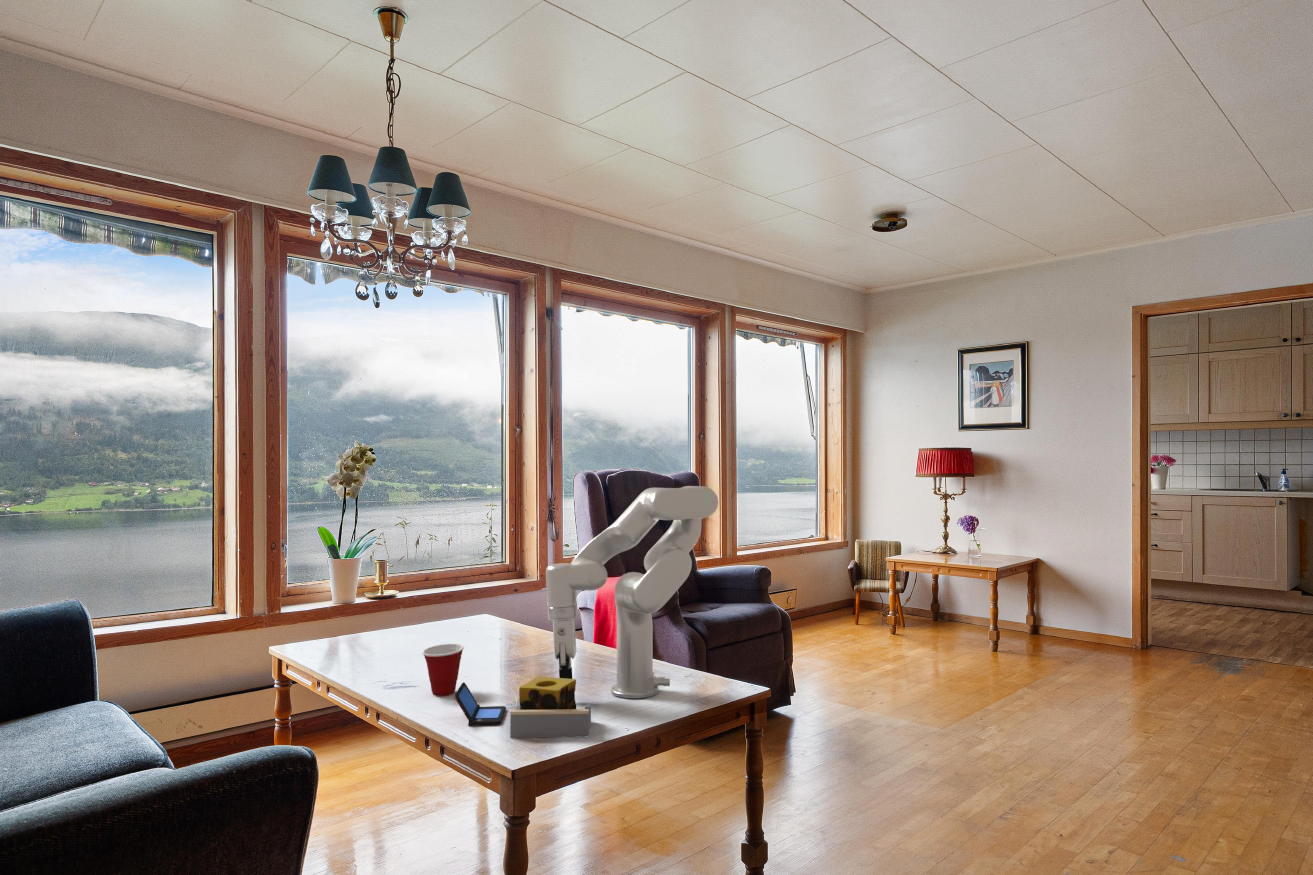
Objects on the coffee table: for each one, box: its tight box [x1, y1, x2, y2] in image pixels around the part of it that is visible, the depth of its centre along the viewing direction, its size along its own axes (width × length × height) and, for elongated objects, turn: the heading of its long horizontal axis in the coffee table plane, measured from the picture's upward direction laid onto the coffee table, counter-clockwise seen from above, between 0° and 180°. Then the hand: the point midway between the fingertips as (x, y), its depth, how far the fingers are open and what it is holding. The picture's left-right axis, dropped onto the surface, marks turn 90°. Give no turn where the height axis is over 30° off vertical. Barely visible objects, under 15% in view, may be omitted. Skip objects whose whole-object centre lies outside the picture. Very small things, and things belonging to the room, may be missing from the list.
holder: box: [509, 703, 592, 739], centre depth 175 cm, size 17×10×6 cm, turn 92°
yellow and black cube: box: [518, 676, 578, 710], centre depth 177 cm, size 10×10×10 cm
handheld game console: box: [454, 681, 507, 727], centre depth 183 cm, size 12×11×7 cm
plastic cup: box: [421, 643, 465, 697], centre depth 204 cm, size 11×11×12 cm
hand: (566, 683), depth 196 cm, fingers closed
